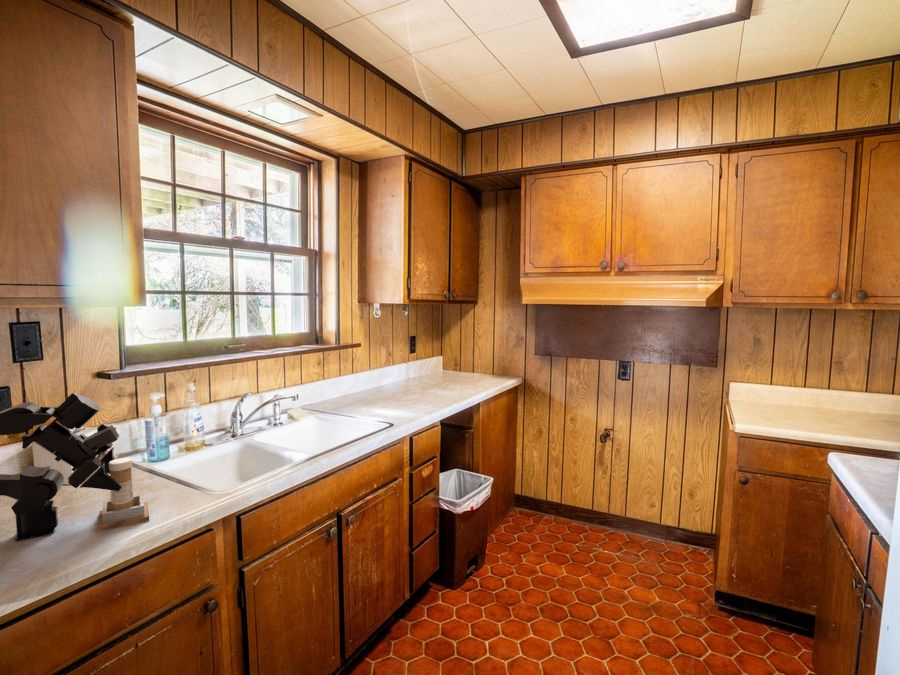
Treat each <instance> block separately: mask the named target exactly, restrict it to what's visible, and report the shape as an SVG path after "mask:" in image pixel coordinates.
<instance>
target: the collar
mask: <svg viewBox="0 0 900 675" xmlns="http://www.w3.org/2000/svg"><path fill="white" fill-rule="evenodd" d="M144 502H145V501H144V494H143V493H141V494H137V495H133V507H130V508H124V509H119V510H114V511H112V503H111V499H110V500H105V501H103V502H102V503H103V504H102V523H103V524H108V523H113V522H117V521H122V520H127V519H132V518H137V517H141V516H145V515H144ZM134 506H135V507H134Z"/></svg>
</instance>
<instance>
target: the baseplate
mask: <svg viewBox="0 0 900 675" xmlns="http://www.w3.org/2000/svg"><path fill="white" fill-rule="evenodd" d="M134 507H135V506H134ZM102 510H103V509H102ZM102 510H99V512H98V521H97V532H102V531H105V530H109V529H110V530H111V529H114V528H115V527H116V528H120V526H121V527H124V526H129V525H134V523H135V524H139V523H143V522H142V521H144V522H147V521H146V520H148V521H150V512H149V502H148V501H144V515H145V516H141V517H137V518H132V519H127V520H122V521H117V522H113V523H108V524H103V523H102ZM138 522H139V523H138ZM116 528H115V529H116Z"/></svg>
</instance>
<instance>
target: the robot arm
mask: <svg viewBox="0 0 900 675" xmlns="http://www.w3.org/2000/svg"><path fill="white" fill-rule="evenodd" d="M101 410H102V409H101V407H100V405H99V404H98V403H97V402H95V401H94V400H93V399H91V398H88V397H86V396H84V395H82V394H78V392H76V391H73V392H72V393H71V394H69V395H68V396H67V398H66V399H65V400H64V401H63V402H62V403H61V404H60V405H59V406H57V407H56V406H39V405H38V404H36V403H34V402H29V401H28V402H22V403H18V404H16V405H13V406H10V407H9V408H6V409H3V410H1V411H0V436H10V435H17V434H24V435H22V436H21V440H22V442H21V443H22V446H21V448H22V449H23V450H26V449H27V448H28V447H29V446H31V445H32V444H33V443H35V444H36V445H37V446H39V447H41V448H42V449H44V450H45V451H47V452H48V453H50V454H52V455H53V456H55V458H54V460H55V461H57V462H58V463H59V462H60V461H63V462H64V463H66V464H68V465H69V466H70V467H72V468H71V471H73V472H71V474H70V475H69V476H68V478H67V479H68V485H70V486H71V487H73V488H75V489H78V488H80V489H83V488H87V489H98V490H99V489H100V490H104V491H105V490H106V491H107V490H108V491H111V490H113V491H119V490H120V489H121V488H122V486H121V485H120V484H118V483H117V482H116V481H115V480H114V479H113V478H112V477H111V476H110V470H109V462H110V461H112V460H115V459H116V458H115V455H114V454H115V452H114V450H115V446H114V447H112V446H113V445H114V444H113V443H115V442H117V441H118V440H119V437H120V435H119V433H118V431H117V427H116V426H114V425H112V424H107V423H102V424H101V425H98V426H97V428H96V432H94V433H93V434H90V435H89V436H87V435H85V434H83V433H82V434H79V435H78V434H76V433H75V432H73V431H72V430H74V429H81V428H83V427H84V426H85V425H86V424H87V423H88V422H89V421H90V420H91V419H93V417H95V416H96V414H98V413H99V412H100V411H101ZM52 418H55V419H53V421H51V422H50V423H49V424H48V425H46V423H47V422H48V421H49V420H50V419H52ZM36 426H37V427H36ZM34 427H36V428H35V429H34V430H33V431H32V432H30V433H27V432H29V431H30V430H32V429H33V428H34ZM25 433H26V434H25ZM64 483H65V478H64V475H63V473H61V471H59V470H58V469H54V468H52V467H51V465H49V466H43V467H41V466H35V465H27V466H26V468H24V470H23V471H22V472H21V473H15V474H6V473H4V474H3V473H0V497H2V496H3V497H8V498H11V499H13V500H16V501H15V503H13V504H12V505H11V510H12V512H13V513H14V515H15V526H16V535H15V538H14V540H15V542H19V541H23V540H24V541H25V540H28V539H33V538H34V539H35V538H37V537H43V536H48V535H52V534H54V532H55V529H56V528H57V527H58V523H59V517H58V515H59V514H58V506H57V505H56V506H55V503H54V500H53V498H55V496H56V495H57V494H58V492H59V491H60V490H61V488H62V487H63V485H64Z"/></svg>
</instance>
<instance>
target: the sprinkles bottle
mask: <svg viewBox="0 0 900 675" xmlns="http://www.w3.org/2000/svg"><path fill="white" fill-rule="evenodd" d="M132 467H133V464H132V459H131V458H130V457H120V458H115V460H112V461H110V462H109V470H110V474H109V475H110V476H111V477H112V478H113V479H114V480H115V481H116V482H117V483H118V484H120V485H121V486H122V488H121V489H120V490H119V491H113V490H110V500H111V503H112V511H114V510H119V509H124V508H130V507H133V496H134V488H133V487H134V486H133V478H132V477H133V476H132V475H133V474H132Z"/></svg>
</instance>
